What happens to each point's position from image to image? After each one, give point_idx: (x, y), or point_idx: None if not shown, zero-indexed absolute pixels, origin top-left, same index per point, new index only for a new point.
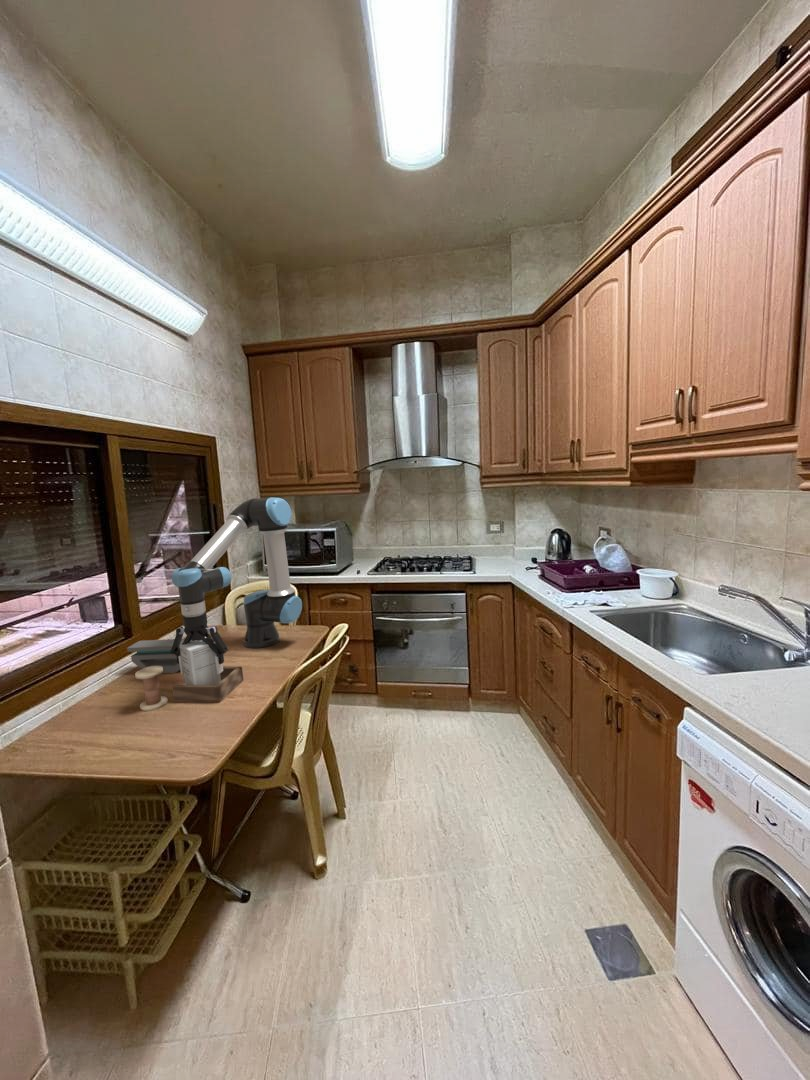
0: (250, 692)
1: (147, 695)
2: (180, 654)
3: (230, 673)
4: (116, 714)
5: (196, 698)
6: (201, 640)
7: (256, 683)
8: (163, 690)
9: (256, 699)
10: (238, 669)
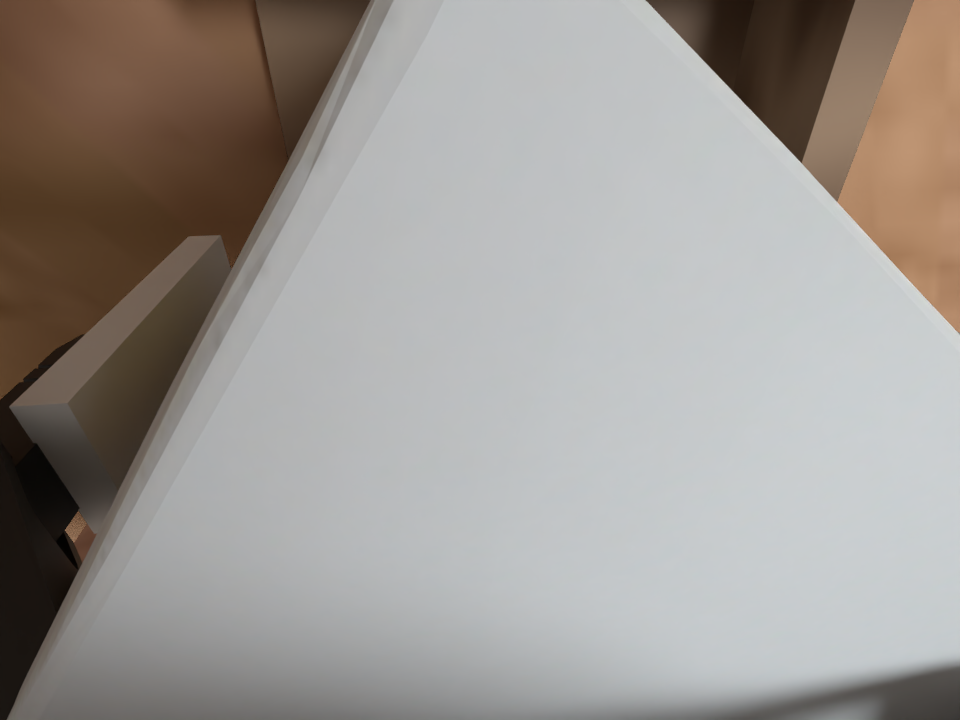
0: (894, 210)
1: None
2: (57, 498)
3: (808, 162)
4: (78, 524)
5: None
6: (642, 661)
7: (953, 15)
8: (17, 213)
9: (938, 307)
10: (905, 21)
